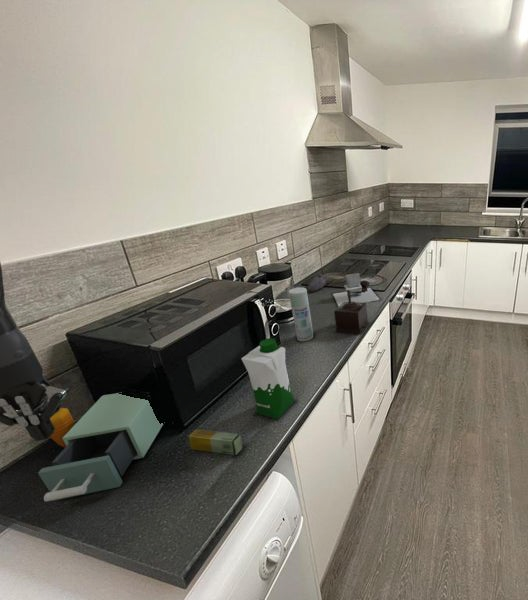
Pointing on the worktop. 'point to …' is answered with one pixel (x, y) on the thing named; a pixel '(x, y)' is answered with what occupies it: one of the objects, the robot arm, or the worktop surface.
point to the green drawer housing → (119, 421)
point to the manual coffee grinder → (352, 313)
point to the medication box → (215, 442)
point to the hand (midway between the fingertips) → (45, 436)
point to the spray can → (301, 313)
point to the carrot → (61, 425)
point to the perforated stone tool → (316, 283)
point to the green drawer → (89, 465)
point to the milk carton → (269, 378)
